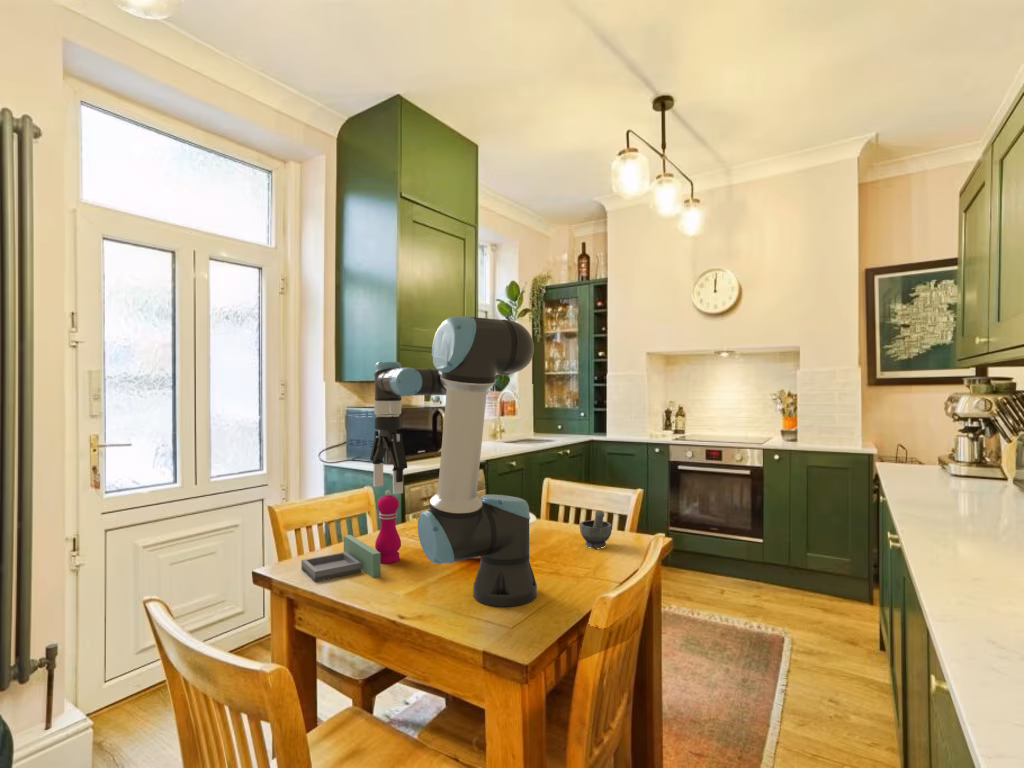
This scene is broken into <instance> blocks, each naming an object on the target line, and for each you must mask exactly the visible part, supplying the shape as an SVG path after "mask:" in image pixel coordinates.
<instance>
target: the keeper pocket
mask: <svg viewBox="0 0 1024 768" xmlns="http://www.w3.org/2000/svg"><path fill="white" fill-rule="evenodd" d="M300 561H301V571H302V572H304V573H305V574H306V575H307V576H308V577H309V576H310V577H311V578H312V579H313V580H312V579H311V578H310V577H309V578H310V579H311V580H312V581H313V582H315V581H316V582H320V581H319V580H321V581H324V580H323V579H326V580H329V579H328V578H330V579H334V578H333V577H335V578H339V577H338V576H340V577H343V575H344V576H349V575H353V573H354V574H358V572H359V573H361V572H362V569H361V562H359V561H358V560H356V559H355V558H353V557H352V556H350V555H349V554H348V553H346V552H344V551H342V552H336V553H331V554H326V555H325V554H324V555H321V556H316V557H311V558H305V559H301V560H300ZM348 574H349V575H348Z"/></svg>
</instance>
